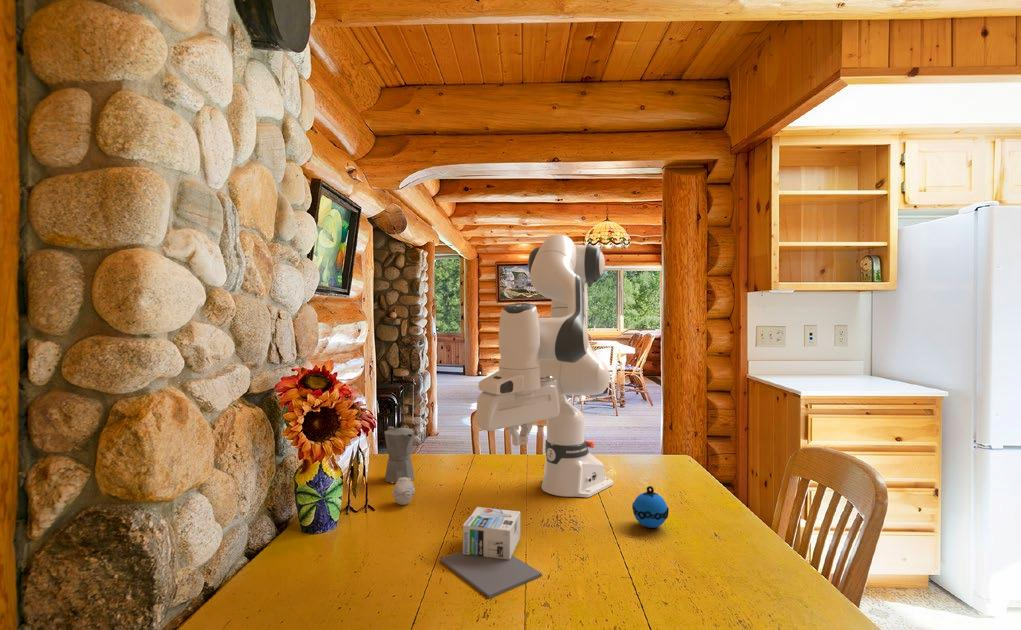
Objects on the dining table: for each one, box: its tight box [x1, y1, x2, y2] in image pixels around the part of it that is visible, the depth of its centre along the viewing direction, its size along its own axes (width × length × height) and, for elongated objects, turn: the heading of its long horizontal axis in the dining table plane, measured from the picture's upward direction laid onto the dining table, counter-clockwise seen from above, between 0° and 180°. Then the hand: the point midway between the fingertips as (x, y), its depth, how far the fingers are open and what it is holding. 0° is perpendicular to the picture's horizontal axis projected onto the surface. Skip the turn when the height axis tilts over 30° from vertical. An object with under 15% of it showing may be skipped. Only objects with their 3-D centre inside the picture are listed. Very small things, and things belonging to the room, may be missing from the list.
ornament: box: [631, 485, 670, 529], centre depth 130 cm, size 9×9×10 cm
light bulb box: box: [461, 506, 521, 560], centre depth 119 cm, size 11×7×11 cm
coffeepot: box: [383, 421, 415, 483], centre depth 166 cm, size 15×9×18 cm, turn 44°
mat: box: [439, 550, 543, 599], centre depth 110 cm, size 13×18×1 cm
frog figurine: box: [392, 477, 416, 506], centre depth 145 cm, size 6×7×7 cm
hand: (520, 444), depth 113 cm, fingers closed
